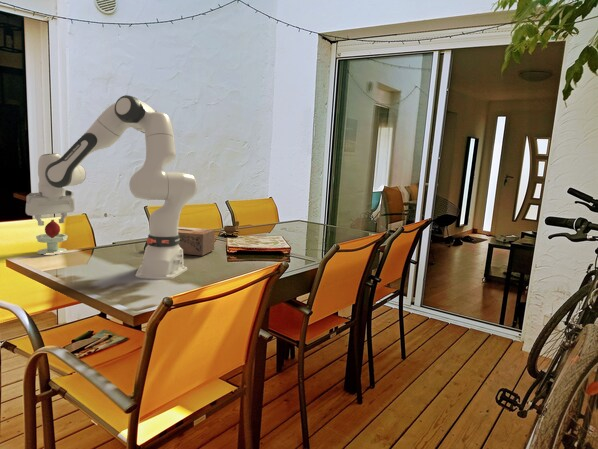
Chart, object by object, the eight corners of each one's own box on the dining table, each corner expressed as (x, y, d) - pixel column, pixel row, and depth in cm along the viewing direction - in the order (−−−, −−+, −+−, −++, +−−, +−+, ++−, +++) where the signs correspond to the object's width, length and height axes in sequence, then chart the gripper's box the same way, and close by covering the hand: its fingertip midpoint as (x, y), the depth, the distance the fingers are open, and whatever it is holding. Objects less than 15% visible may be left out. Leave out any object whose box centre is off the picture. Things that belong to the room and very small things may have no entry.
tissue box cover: (214, 249, 214) (214, 229, 212) (202, 255, 200) (203, 234, 198) (165, 245, 218) (165, 225, 216) (151, 250, 204) (151, 229, 202)
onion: (62, 238, 186) (62, 220, 185) (47, 239, 182) (47, 220, 181) (57, 236, 190) (57, 218, 189) (42, 237, 186) (43, 218, 185)
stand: (59, 256, 182) (58, 238, 181) (32, 254, 181) (31, 237, 180) (71, 250, 193) (71, 234, 192) (46, 249, 192) (45, 233, 191)
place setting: (212, 232, 262) (212, 223, 261) (236, 230, 277) (236, 221, 277) (232, 237, 251) (232, 227, 250) (256, 234, 267) (256, 224, 266)
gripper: (31, 193, 172) (32, 227, 174) (76, 191, 191) (77, 222, 193) (21, 192, 175) (22, 226, 177) (67, 190, 193) (67, 221, 195)
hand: (51, 224), depth 185 cm, fingers open, 8 cm apart
